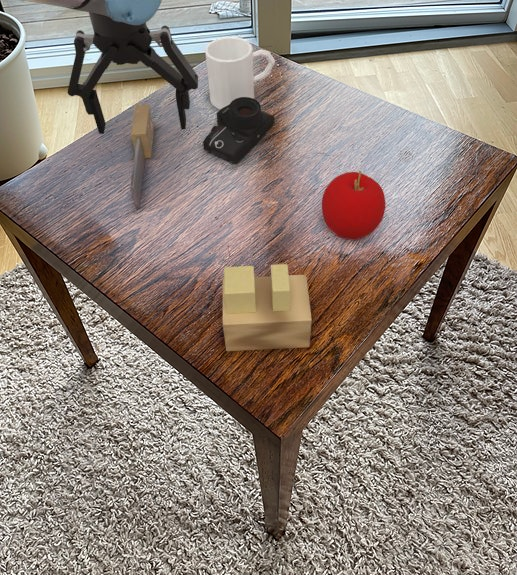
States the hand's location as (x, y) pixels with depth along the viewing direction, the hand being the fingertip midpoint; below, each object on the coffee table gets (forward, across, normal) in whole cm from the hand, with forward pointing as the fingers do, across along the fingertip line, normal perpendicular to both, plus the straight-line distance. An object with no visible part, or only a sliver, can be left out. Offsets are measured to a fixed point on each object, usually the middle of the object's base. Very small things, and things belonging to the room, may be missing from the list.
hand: (143, 126), depth 96 cm
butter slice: (-3, -20, +39) cm, 44 cm away
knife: (+3, 0, +6) cm, 7 cm away
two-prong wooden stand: (+3, -19, +39) cm, 43 cm away
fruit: (+4, -32, +22) cm, 39 cm away
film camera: (+4, -16, 0) cm, 16 cm away
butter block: (-3, -16, +39) cm, 42 cm away
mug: (+4, -17, -12) cm, 21 cm away
